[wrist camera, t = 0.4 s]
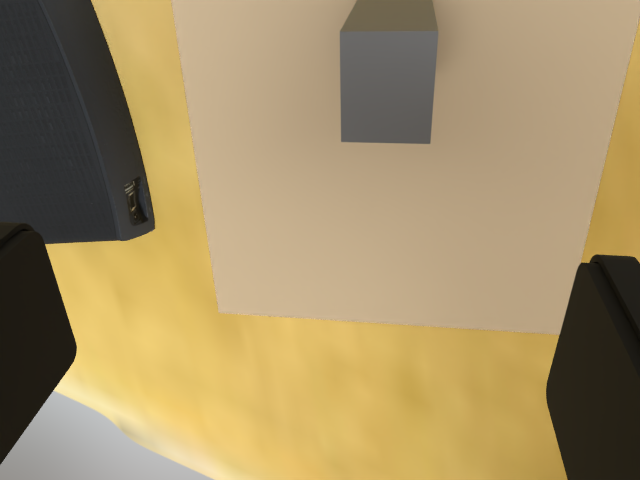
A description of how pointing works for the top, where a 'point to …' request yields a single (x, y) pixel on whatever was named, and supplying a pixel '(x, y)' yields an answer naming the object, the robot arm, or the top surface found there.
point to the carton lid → (402, 153)
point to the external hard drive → (66, 128)
